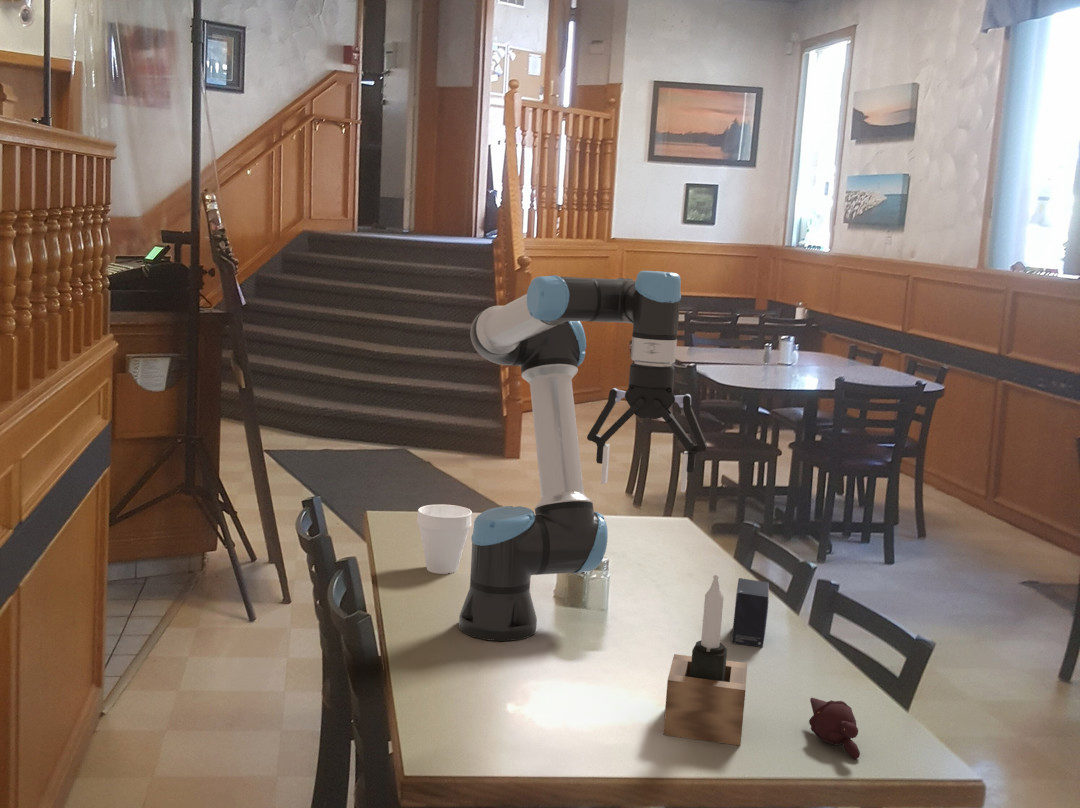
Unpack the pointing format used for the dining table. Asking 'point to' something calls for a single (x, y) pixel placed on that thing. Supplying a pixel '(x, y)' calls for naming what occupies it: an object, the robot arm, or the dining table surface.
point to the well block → (705, 703)
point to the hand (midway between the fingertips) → (643, 486)
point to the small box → (750, 612)
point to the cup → (443, 535)
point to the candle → (710, 639)
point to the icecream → (835, 724)
